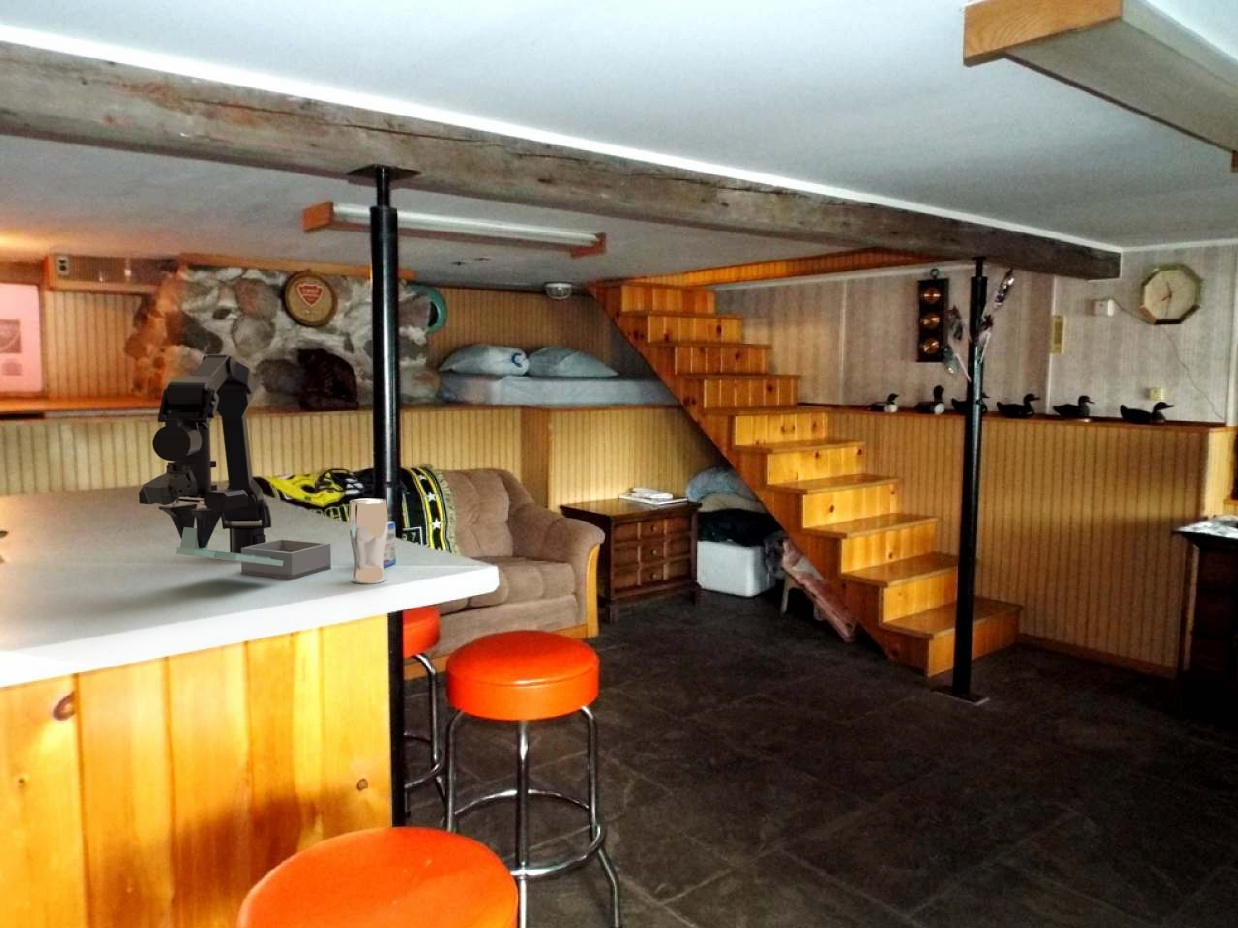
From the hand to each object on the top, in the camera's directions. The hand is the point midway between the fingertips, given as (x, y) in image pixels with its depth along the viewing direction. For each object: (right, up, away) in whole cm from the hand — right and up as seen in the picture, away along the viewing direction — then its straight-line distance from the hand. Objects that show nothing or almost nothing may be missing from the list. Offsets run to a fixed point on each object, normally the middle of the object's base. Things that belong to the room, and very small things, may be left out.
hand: (194, 547), depth 157 cm
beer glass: (+26, -8, +15) cm, 31 cm away
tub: (+8, -7, +22) cm, 24 cm away
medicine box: (+24, -7, +27) cm, 37 cm away
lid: (+2, -3, +6) cm, 7 cm away
